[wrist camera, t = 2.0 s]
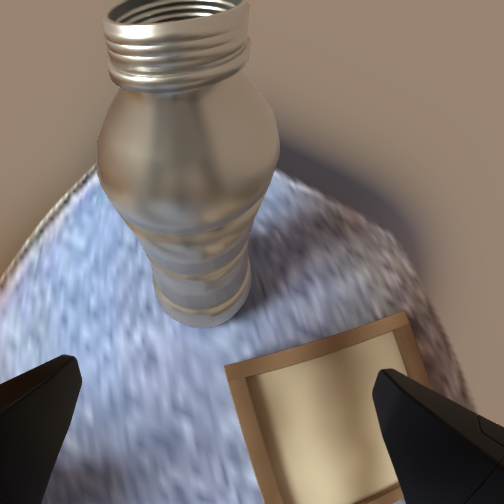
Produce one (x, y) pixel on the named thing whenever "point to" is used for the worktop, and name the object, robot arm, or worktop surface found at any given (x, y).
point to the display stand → (323, 415)
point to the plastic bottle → (187, 148)
